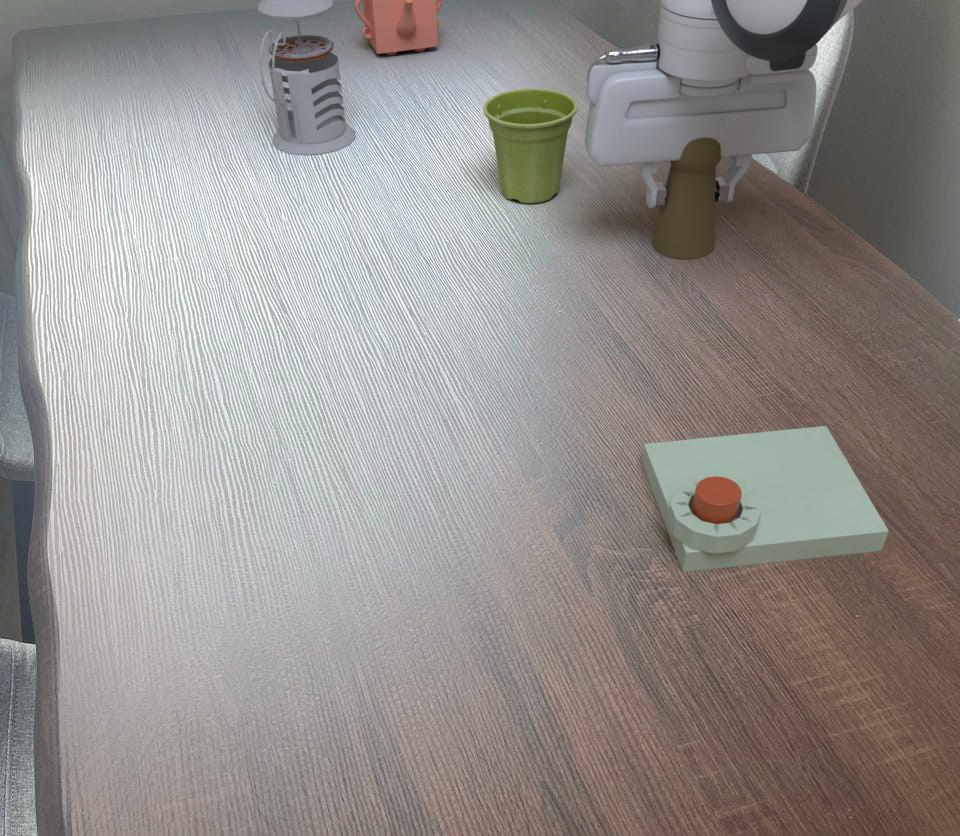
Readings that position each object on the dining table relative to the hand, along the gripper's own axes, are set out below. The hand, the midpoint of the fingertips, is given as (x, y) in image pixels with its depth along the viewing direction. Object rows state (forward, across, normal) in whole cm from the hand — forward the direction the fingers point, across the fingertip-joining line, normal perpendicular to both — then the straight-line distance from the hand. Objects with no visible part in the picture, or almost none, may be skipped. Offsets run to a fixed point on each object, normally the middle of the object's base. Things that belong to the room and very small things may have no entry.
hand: (688, 202), depth 97 cm
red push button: (+1, -9, -43) cm, 44 cm away
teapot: (+4, -23, +61) cm, 65 cm away
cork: (+4, 0, 0) cm, 4 cm away
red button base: (+4, -5, -39) cm, 40 cm away
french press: (+4, -36, +32) cm, 48 cm away
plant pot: (+4, -13, +14) cm, 20 cm away
